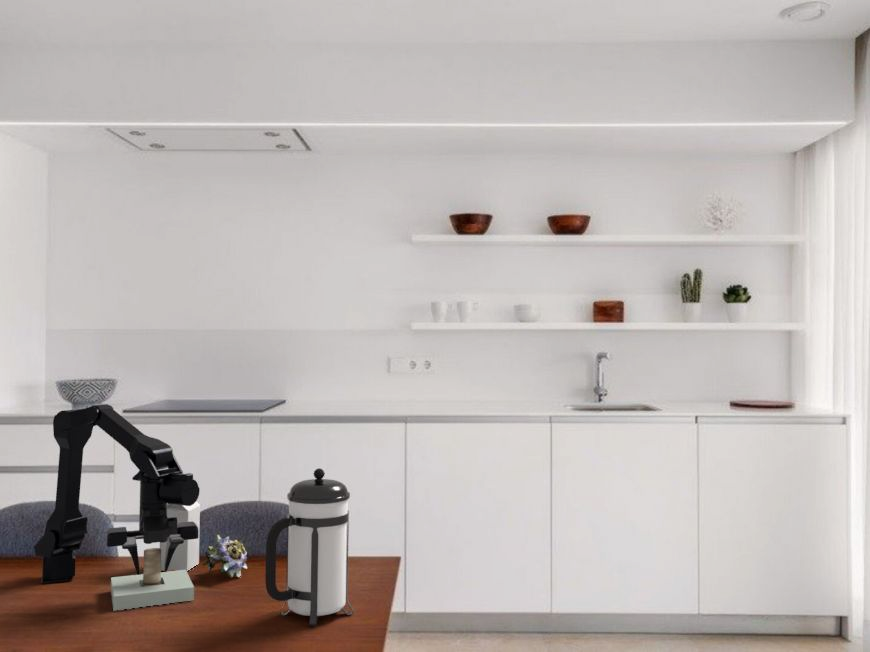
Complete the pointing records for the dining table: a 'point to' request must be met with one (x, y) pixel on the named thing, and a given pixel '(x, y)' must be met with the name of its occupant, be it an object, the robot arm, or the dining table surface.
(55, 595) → the dining table surface
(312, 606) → the coffee press
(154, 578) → the peg
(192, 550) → the milk carton
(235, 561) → the passion flower
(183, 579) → the board
